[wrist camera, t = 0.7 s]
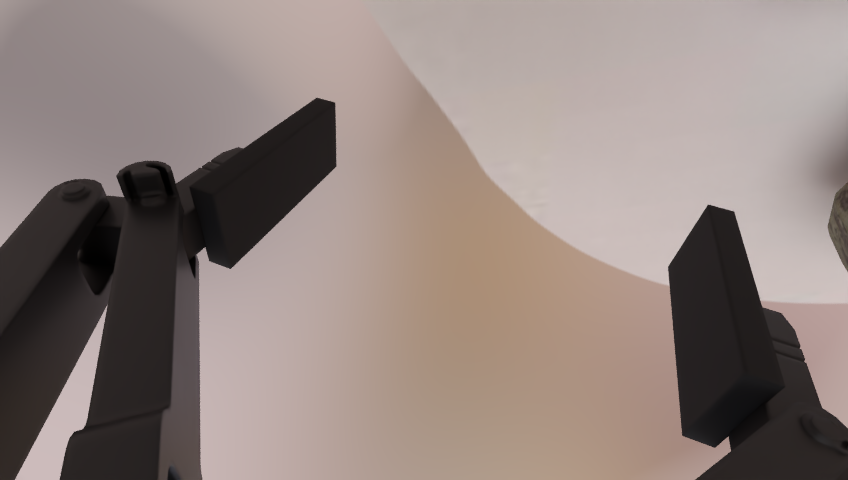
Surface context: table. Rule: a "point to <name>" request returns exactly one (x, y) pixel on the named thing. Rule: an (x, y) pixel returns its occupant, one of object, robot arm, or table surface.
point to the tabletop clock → (840, 224)
